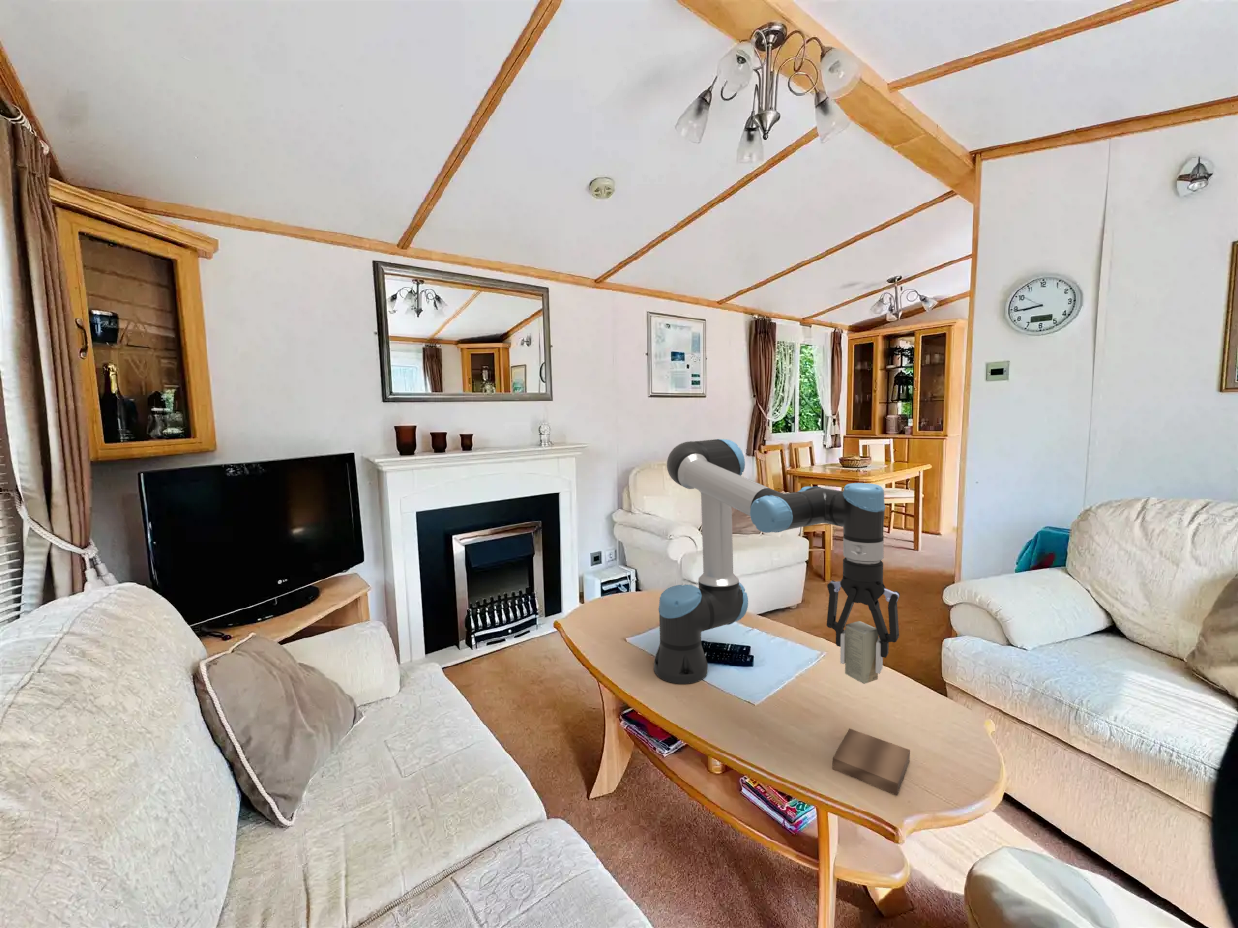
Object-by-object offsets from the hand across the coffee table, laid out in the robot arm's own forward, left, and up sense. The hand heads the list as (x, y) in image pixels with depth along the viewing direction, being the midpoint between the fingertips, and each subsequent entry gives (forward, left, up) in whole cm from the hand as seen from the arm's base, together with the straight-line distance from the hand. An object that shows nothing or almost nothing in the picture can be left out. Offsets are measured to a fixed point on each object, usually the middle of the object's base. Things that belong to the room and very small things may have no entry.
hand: (861, 665), depth 109 cm
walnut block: (+3, -2, -20) cm, 21 cm away
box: (0, 0, -3) cm, 3 cm away
